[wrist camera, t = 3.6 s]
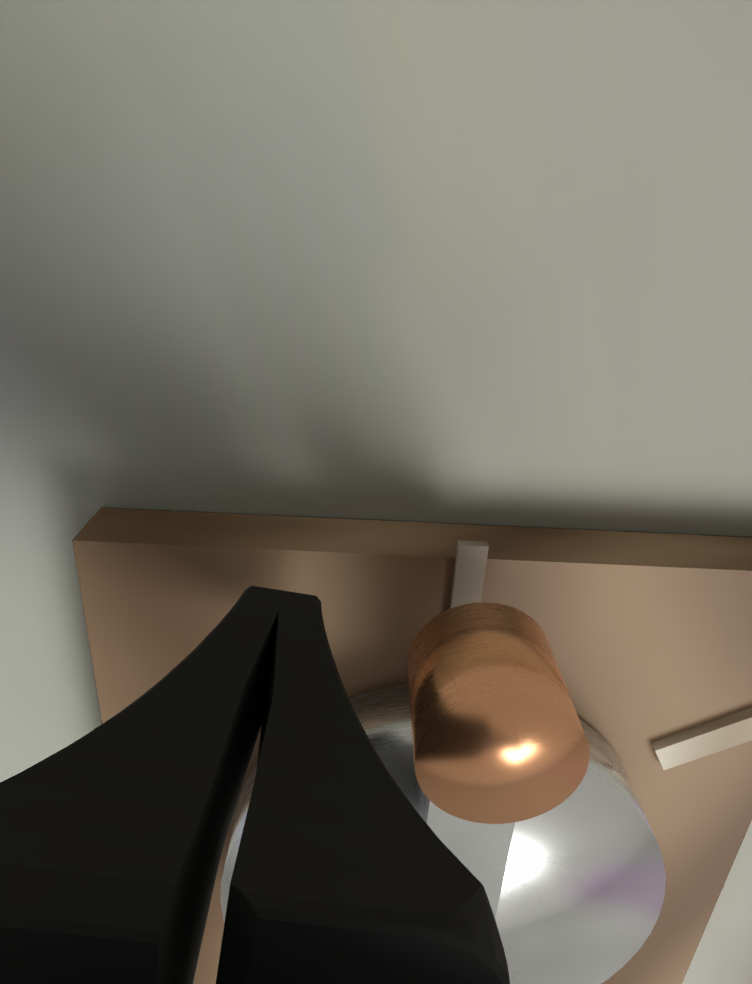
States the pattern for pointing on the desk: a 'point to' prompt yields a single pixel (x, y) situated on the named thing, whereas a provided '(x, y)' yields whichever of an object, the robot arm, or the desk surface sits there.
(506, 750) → the dial
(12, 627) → the desk surface
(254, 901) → the robot arm
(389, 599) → the dial plate
